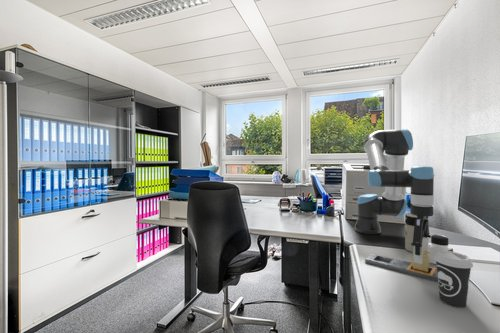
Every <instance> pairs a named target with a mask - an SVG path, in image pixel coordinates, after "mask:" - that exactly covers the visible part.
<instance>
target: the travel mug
mask: <svg viewBox="0 0 500 333" xmlns="http://www.w3.org/2000/svg"><path fill="white" fill-rule="evenodd" d="M405 215H406V218H405V221H404V223H405V224H404V225H405V227H404V228H405V230H404V231H405V234H404V235H405V237H404V238H405V239H404V247H405V250H406V251H408V252H411V253H413V251H414V246H413V245H411V243H413V234H414V222H415V221H414V220H415V219H416V218H417V216H416V215H413V214H411V213H410V212H409V213H405ZM416 243H418V242H416Z"/></svg>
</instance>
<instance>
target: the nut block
mask: <svg viewBox="0 0 500 333" xmlns="http://www.w3.org/2000/svg"><path fill="white" fill-rule="evenodd" d="M412 263H413V270H417V271H421V272H424V273H428V274H430V267H431V263H430V252H427V251H423V254H422V264H419V263H415V262H414V251H413V252H412Z"/></svg>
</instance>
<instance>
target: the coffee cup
mask: <svg viewBox="0 0 500 333" xmlns="http://www.w3.org/2000/svg"><path fill="white" fill-rule="evenodd" d="M434 259H435V260H436V264H437V265H436V264H435V265H436V269H437V274H438V282H437V284H438V294H439V300H440V301H441V302H442V303H443V304H446V305H448V306H450V307H453V308H465V307H466V306H467V300H468V293H469V284H470V277H471V269H473V267H474V265H473V262H472V260H471V258H470V257H469V256H468V255H466V254H463V253H460V252H456V251H453V252H451V251H439V252H437V254H436V255H435V257H434Z"/></svg>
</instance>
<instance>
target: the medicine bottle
mask: <svg viewBox="0 0 500 333" xmlns="http://www.w3.org/2000/svg"><path fill="white" fill-rule="evenodd" d="M439 251H451V252H454V248H453V247H451V246H449V238H448V237H447V236H446V235H442V234H433V235H432V234H431V238H430V244H429V248H428V252H430V264H434V265H436V266H437V264H436V260H435V259H434V257H435V255H436V254H437V252H439Z"/></svg>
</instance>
